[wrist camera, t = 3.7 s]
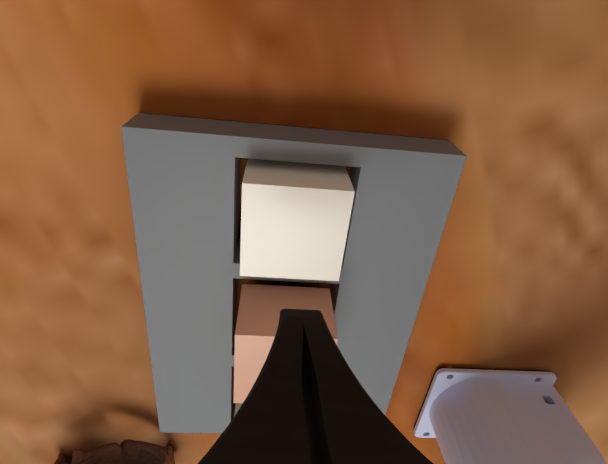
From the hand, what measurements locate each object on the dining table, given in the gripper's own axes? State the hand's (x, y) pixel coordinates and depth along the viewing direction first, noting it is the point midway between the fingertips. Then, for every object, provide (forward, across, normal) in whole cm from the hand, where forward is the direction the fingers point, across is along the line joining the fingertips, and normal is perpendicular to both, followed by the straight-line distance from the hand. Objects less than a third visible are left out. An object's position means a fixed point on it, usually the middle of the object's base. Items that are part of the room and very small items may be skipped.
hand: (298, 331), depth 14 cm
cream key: (+10, 0, 0) cm, 10 cm away
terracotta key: (+8, 0, +7) cm, 11 cm away
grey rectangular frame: (+10, 0, +7) cm, 12 cm away
